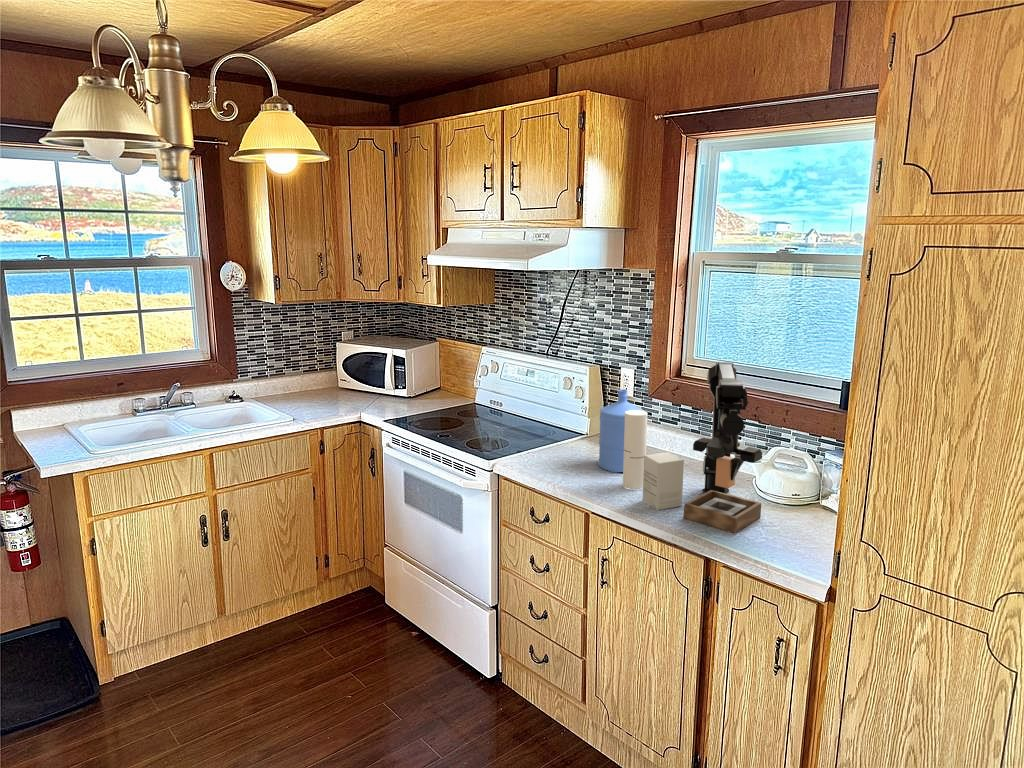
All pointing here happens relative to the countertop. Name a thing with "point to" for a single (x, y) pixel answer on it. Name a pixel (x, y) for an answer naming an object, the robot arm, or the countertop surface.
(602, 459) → the water jug
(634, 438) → the cylindrical container
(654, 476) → the supplement box
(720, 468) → the block
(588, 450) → the countertop surface
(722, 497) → the tray
